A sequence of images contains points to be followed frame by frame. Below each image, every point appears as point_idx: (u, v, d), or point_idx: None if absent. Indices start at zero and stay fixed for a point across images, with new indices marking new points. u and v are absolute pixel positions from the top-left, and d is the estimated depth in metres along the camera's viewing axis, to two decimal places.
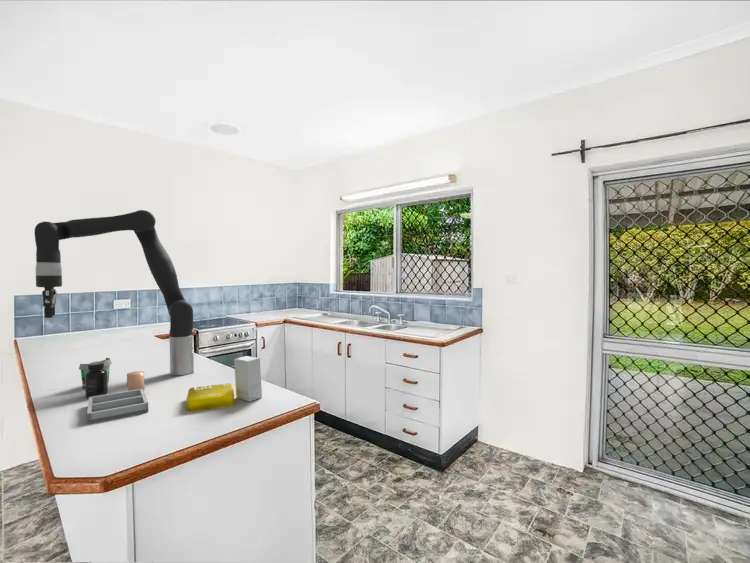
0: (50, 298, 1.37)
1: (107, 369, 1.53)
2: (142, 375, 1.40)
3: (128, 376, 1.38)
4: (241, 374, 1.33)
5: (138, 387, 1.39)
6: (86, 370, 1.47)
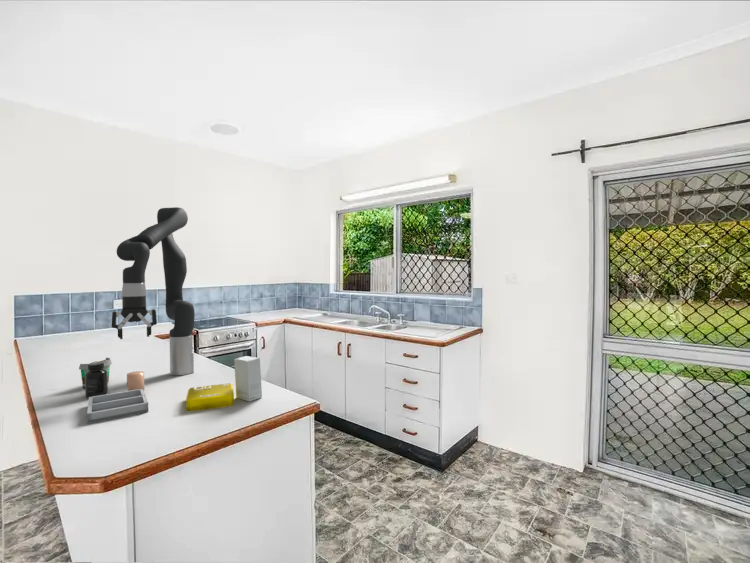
0: None
1: (107, 369, 1.53)
2: (142, 375, 1.40)
3: (128, 376, 1.38)
4: (241, 374, 1.33)
5: (138, 387, 1.39)
6: (86, 370, 1.47)
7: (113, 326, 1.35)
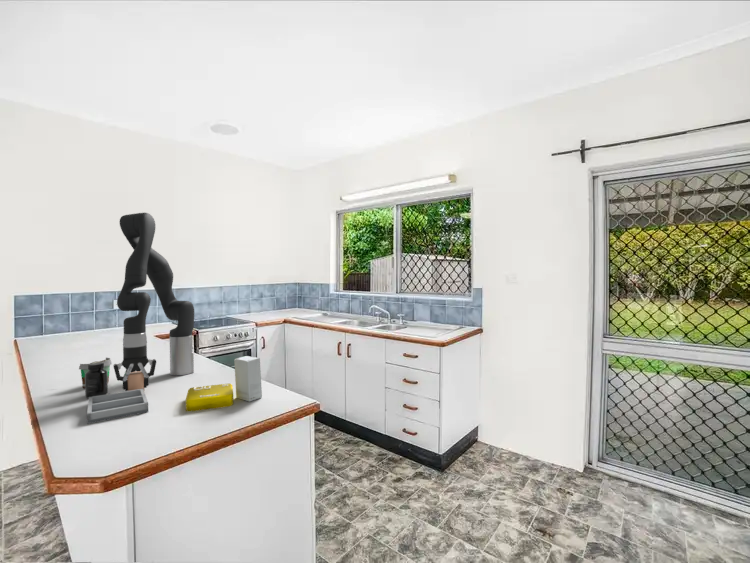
0: None
1: (107, 369, 1.53)
2: (142, 375, 1.40)
3: (128, 376, 1.38)
4: (241, 374, 1.33)
5: (138, 387, 1.39)
6: (86, 370, 1.47)
7: (118, 379, 1.36)
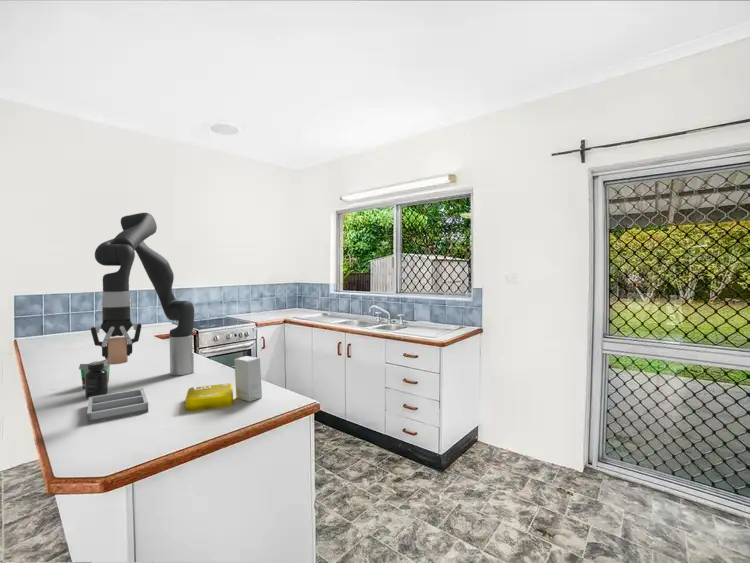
0: None
1: (107, 369, 1.53)
2: (125, 340, 1.21)
3: (108, 341, 1.19)
4: (241, 374, 1.33)
5: (120, 354, 1.19)
6: (86, 370, 1.47)
7: (96, 343, 1.17)
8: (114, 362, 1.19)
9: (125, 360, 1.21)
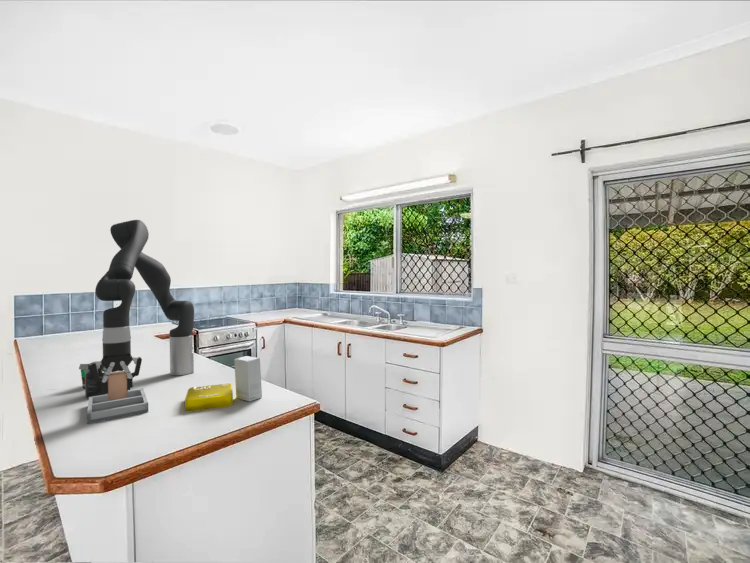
0: None
1: None
2: (125, 375, 1.21)
3: (108, 376, 1.19)
4: (241, 374, 1.33)
5: (120, 389, 1.20)
6: (86, 370, 1.47)
7: (97, 379, 1.17)
8: (114, 397, 1.19)
9: (125, 395, 1.21)
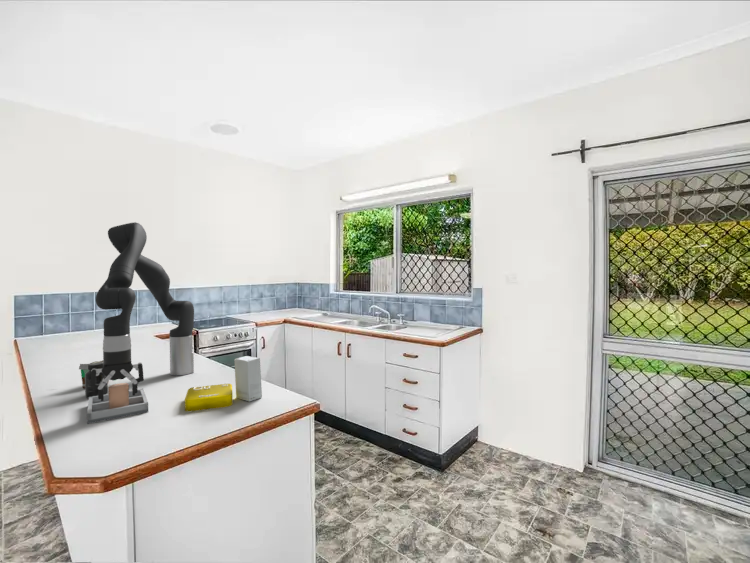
0: None
1: None
2: (126, 388, 1.21)
3: (110, 389, 1.19)
4: (241, 374, 1.33)
5: (121, 402, 1.20)
6: (86, 370, 1.47)
7: (92, 387, 1.17)
8: None
9: None
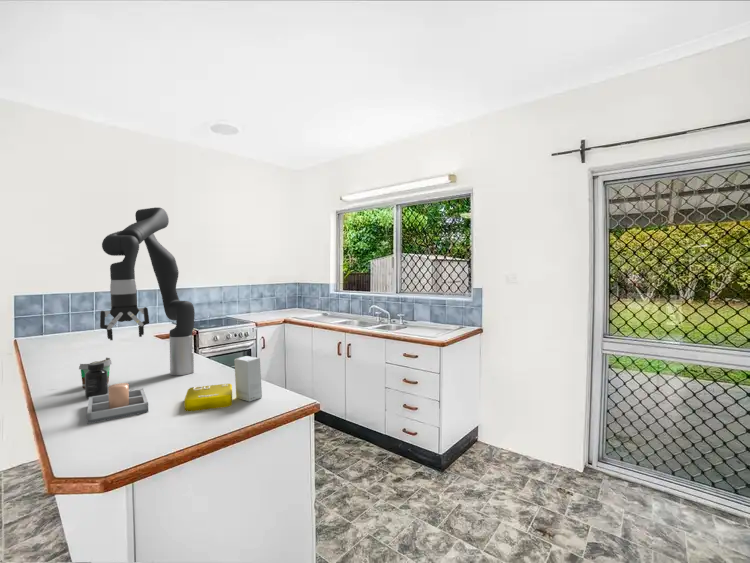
0: None
1: (107, 369, 1.53)
2: (126, 388, 1.21)
3: (110, 389, 1.19)
4: (241, 374, 1.33)
5: (121, 402, 1.20)
6: (86, 370, 1.47)
7: (102, 327, 1.25)
8: None
9: None
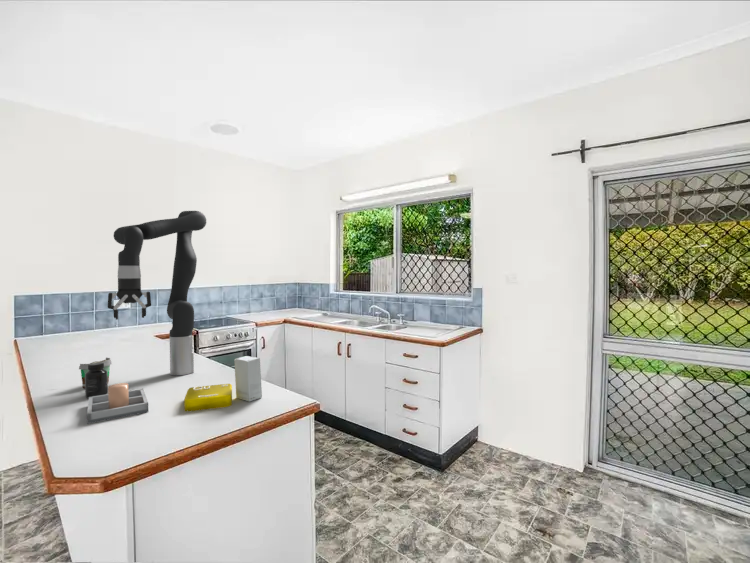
0: None
1: (107, 369, 1.53)
2: (126, 388, 1.21)
3: (109, 389, 1.19)
4: (241, 374, 1.33)
5: (121, 402, 1.20)
6: (86, 370, 1.47)
7: (109, 307, 1.41)
8: None
9: None
